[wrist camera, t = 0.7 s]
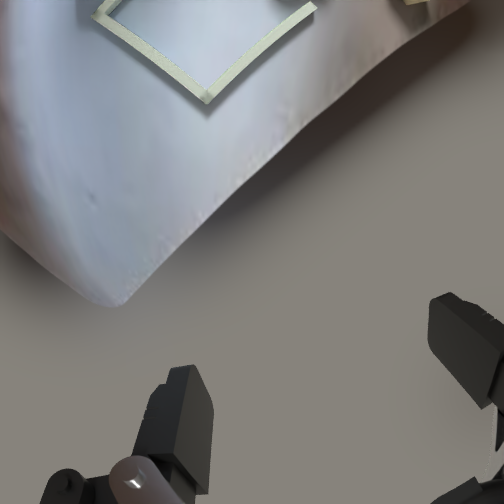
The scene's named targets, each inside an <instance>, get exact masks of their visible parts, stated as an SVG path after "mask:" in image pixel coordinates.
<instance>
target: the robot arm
mask: <svg viewBox="0 0 504 504" xmlns="http://www.w3.org/2000/svg"><path fill="white" fill-rule="evenodd" d="M428 344H429V347H430V349H431V351H432V352H433V354H434V355H435V356H436V357H437V358H438V359H439V360H440V361H441V363H442V364H443V365H444V366H445V367H446V368H447V369H448V371H449V372H450V373H451V374H452V375H453V376H454V377H455V379H456V380H457V381H458V382H459V383H460V384H461V385H462V387H463V388H464V389H465V390H466V392H467V393H468V394H469V395H470V396H471V397H472V399H473V400H474V401H475V402H476V404H477V405H478V406H479V407H480V408H481V409H483V408H485V407H486V406H488V405H489V404H491V403H492V402H493V403H494V404H495V405H496V406H495V409H494V413H493V430H492V441H491V450H490V458H489V462H488V465H487V467H486V470H485V472H484V475H483V478H482V481H481V483H478V481H477V479H476V478H475V477H473V478H471V479H470V480H468V481H466V482H465V483H463V484H462V485H460V486H458V487H456V488H455V489H453V490H451V491H449V492H447V493H446V494H444V495H442V496H440V497H438V498H437V499H436V500H434V501H433V502H432V503H431V504H504V324H502V323H501V322H500V321H498V320H497V319H494V317H493V316H492V315H490V314H489V313H488V314H487V312H486V311H485V310H484V309H482V308H481V307H479V306H478V305H476V304H473V303H470V302H467V301H463V300H461V299H460V298H459V297H457V296H456V295H454V294H453V293H451V292H448V293H446V294H444V295H441V296H439V297H436V298H434V299H432V300H431V301H430V304H429V322H428ZM213 418H214V409H213V404H212V400H211V397H210V395H209V393H208V391H207V389H206V387H205V385H204V383H203V380H202V378H201V376H200V374H199V372H198V370H197V368H196V366H195V365H187V366H181V367H174V368H171V369H170V371H169V375H168V378H167V381H166V384H160V385H159V386H158V387H157V388H156V390H155V391H154V392H153V393H152V394H151V396H150V398H149V402H148V404H147V410H145V414H144V420H142V423H141V426H140V429H139V432H138V436H137V439H136V442H135V445H134V449H133V452H132V455H131V456H130V457H127V458H124V459H122V460H121V461H119V462H118V463H116V465H115V466H114V467H113V468H112V470H111V472H110V474H109V475H105V476H99V477H94V478H89V479H85V478H84V477H83V476H82V475H81V474H80V473H79V472H77V471H76V470H73V469H62V470H60V471H58V472H56V473H55V474H53V475H52V476H51V478H50V479H49V480H48V483H47V485H46V488H45V490H44V493H43V496H42V498H41V501H40V504H195V496H196V495H202V494H208V488H209V473H210V458H211V444H212V443H211V442H212V430H213Z"/></svg>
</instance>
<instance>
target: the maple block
mask: <svg viewBox="0 0 504 504" xmlns="http://www.w3.org/2000/svg"><path fill="white" fill-rule="evenodd" d="M403 1H404V3H405V4H406V5H411V4H415V3H420V2H425V1H429V0H403Z"/></svg>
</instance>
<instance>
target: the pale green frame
mask: <svg viewBox="0 0 504 504" xmlns="http://www.w3.org/2000/svg"><path fill="white" fill-rule="evenodd" d="M121 1H122V0H105V1H104V2H103V3H102V4H101V5H100V6H99V8H98V9H97V10H96V11H95V12H94V13H93V14H92V16H91V18H92V19H94V20H95V21H97V22H98V23H100V24H101V25H103V26H104V27H106V28H107V29H109V30H110V31H111V32H113V33H114V34H116V35H117V36H119V37H120V38H121V39H123V40H124V41H126V42H127V43H128V44H130V45H131V46H133V47H134V48H135V49H137V50H138V51H139V52H141V53H142V54H143V55H145V56H146V57H147V58H149V59H150V60H151V61H153V62H154V63H155V64H157V65H158V66H159V67H161V68H162V69H163V70H164V71H166V72H167V73H168V74H169V75H171V76H172V77H173V78H174V79H176V80H177V81H178V82H179V83H181V84H182V85H183V86H184V87H186V88H187V89H188V90H189V91H191V92H192V93H193V94H194V95H195V96H197V97H198V98H199V99H200V100H201V101H203V102H204V103H205V104H206V105H208V103H209V102H210V101H211V100H212V99H213V98H214V97H215V96H216V95H217V94H218V93H219V92H220V91H221V90H222V89H223V88H224V87H225V86H226V85H227V84H228V83H229V82H230V81H232V80H233V79H234V78H235V77H236V76H237V75H238V74H239V73H240V72H241V71H242V70H243V69H244V68H245V67H246V66H248V65H249V64H250V63H251V62H252V61H253V60H254V59H255V58H256V57H258V56H259V55H260V54H261V53H262V52H263V51H264V50H266V49H267V48H268V47H269V46H270V45H271V44H273V43H274V42H275V41H276V40H277V39H279V38H280V37H281V36H282V35H283V34H285V33H286V32H287V31H288V30H290V29H291V28H292V27H293V26H295V25H296V24H297V23H299V22H300V21H301V20H302V19H304V18H305V17H306V16H308V15H309V14H310V13H312V12H313V11H315V10H316V9H317V7H316V6H315V5H314V4H313V3H312V2H311V1H310V2H308V3H307V4H305V5H304V6H303V7H301V8H300V9H299V10H297V11H296V12H295V13H293V14H292V15H291V16H289V17H288V18H287V19H285V20H284V21H283V22H282V23H280V24H279V25H278V26H277V27H275V28H274V29H273V30H272V31H270V32H269V33H268V34H267V35H266V36H264V37H263V38H262V39H261V40H260V41H258V42H257V43H256V44H255V45H254V46H253V47H252V48H250V49H249V50H248V51H247V52H246V53H245V54H244V55H243V56H241V57H240V58H239V59H238V60H237V61H236V62H235V63H234V64H233V65H232V66H231V67H230V68H229V69H227V70H226V71H225V72H224V73H223V74H222V75H221V76H220V77H219V78H218V79H217V80H216V81H215V82H214V83H213V84H212V85H211V86H210V87H209V88H208V89H207V90H206V89H205V88H204V87H202V86H201V85H200V84H199V83H198V82H196V81H195V80H194V79H193V78H192V77H190V76H189V75H188V74H187V73H185V72H184V71H183V70H182V69H180V68H179V67H178V66H177V65H175V64H174V63H173V62H172V61H170V60H169V59H168V58H166V57H165V56H164V55H162V54H161V53H160V52H159V51H157V50H156V49H155V48H153V47H152V46H150V45H149V44H148V43H146V42H145V41H144V40H142V39H141V38H140V37H138V36H137V35H135V34H134V33H133V32H131V31H130V30H128V29H127V28H125V27H124V26H122V25H121V24H120V23H118V22H117V21H115V20H114V19H112V18H111V17H109V16H108V15H109V14H110V13H111V12H112V11H113V10H114V9H115V8H116V6H117V5H118V4H119V3H120V2H121Z"/></svg>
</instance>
